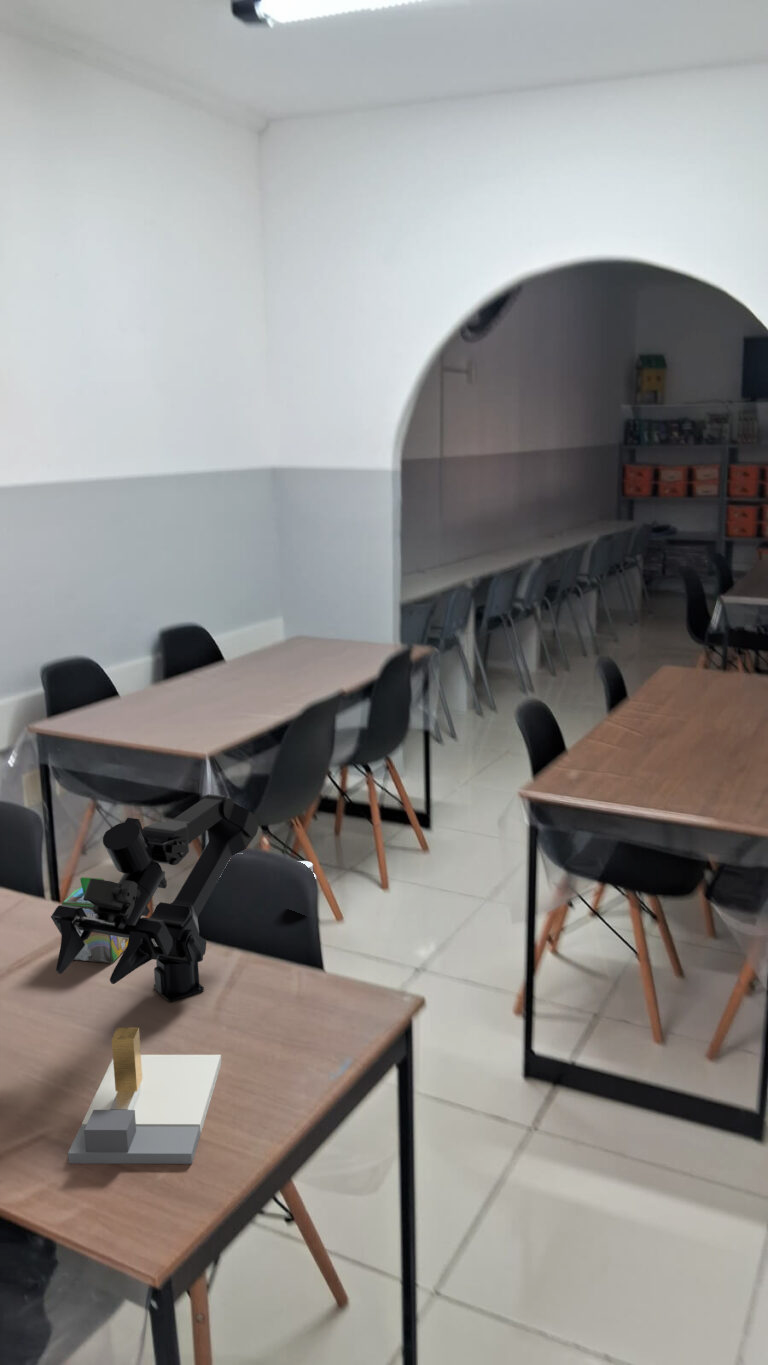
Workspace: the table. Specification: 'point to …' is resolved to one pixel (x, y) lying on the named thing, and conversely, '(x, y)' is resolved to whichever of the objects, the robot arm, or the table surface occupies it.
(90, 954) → the chalk box
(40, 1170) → the table surface
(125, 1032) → the tan square block
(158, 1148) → the white board
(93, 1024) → the table surface
